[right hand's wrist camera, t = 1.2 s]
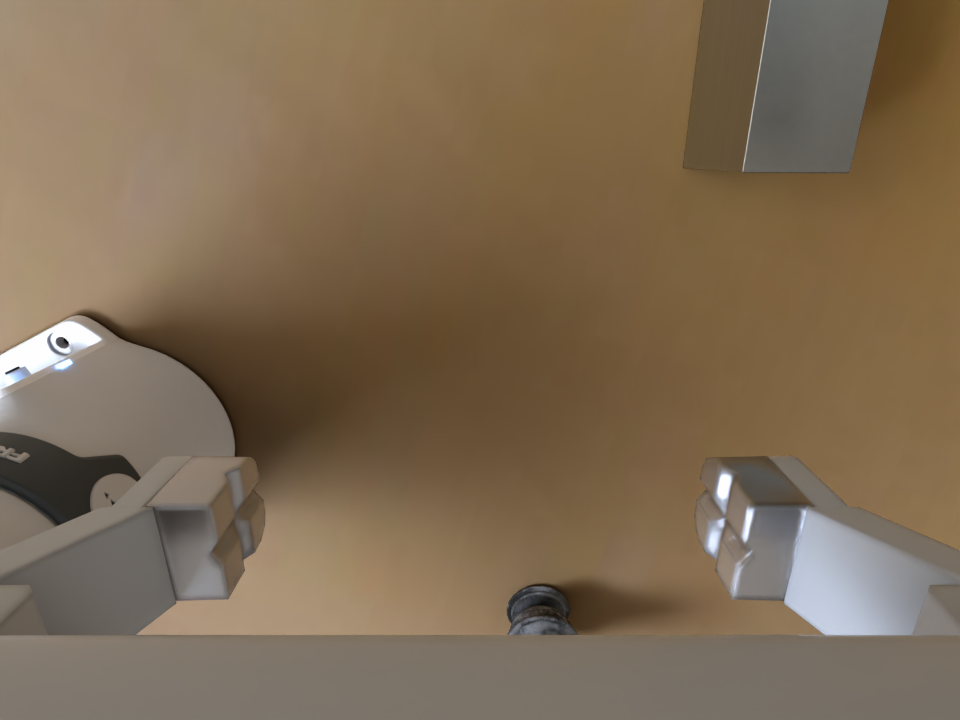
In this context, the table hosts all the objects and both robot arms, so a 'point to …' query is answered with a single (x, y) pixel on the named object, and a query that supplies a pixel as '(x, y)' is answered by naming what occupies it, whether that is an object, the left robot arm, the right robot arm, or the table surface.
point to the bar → (781, 84)
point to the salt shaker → (539, 612)
